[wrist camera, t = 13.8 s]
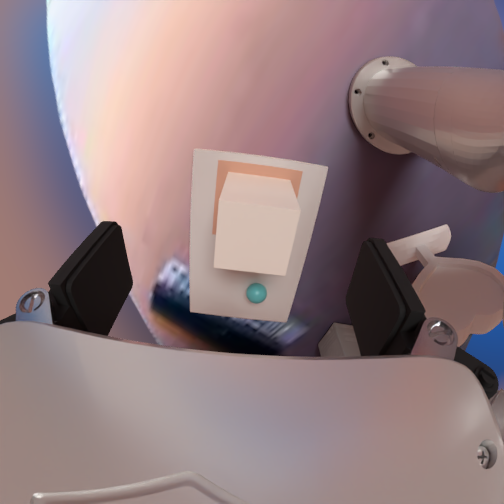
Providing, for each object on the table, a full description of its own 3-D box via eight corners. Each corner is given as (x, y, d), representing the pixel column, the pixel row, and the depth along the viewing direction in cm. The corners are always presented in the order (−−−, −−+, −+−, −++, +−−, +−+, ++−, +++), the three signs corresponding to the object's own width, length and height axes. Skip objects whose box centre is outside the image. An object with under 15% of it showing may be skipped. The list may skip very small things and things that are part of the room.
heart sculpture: (456, 221, 35) (523, 292, 20) (454, 246, 38) (513, 320, 23) (373, 247, 38) (424, 341, 23) (375, 273, 41) (419, 366, 26)
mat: (327, 166, 32) (328, 168, 32) (286, 319, 46) (286, 322, 46) (194, 148, 31) (193, 149, 31) (190, 309, 45) (189, 312, 45)
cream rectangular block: (290, 180, 33) (300, 210, 25) (279, 233, 37) (285, 275, 29) (228, 171, 32) (218, 200, 25) (222, 226, 36) (213, 267, 29)
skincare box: (316, 342, 50) (329, 417, 36) (336, 317, 46) (355, 396, 33) (353, 349, 51) (370, 418, 38) (373, 325, 47) (397, 397, 34)
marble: (268, 279, 41) (268, 293, 38) (265, 295, 42) (265, 308, 40) (247, 277, 41) (247, 291, 38) (245, 293, 42) (244, 306, 40)
